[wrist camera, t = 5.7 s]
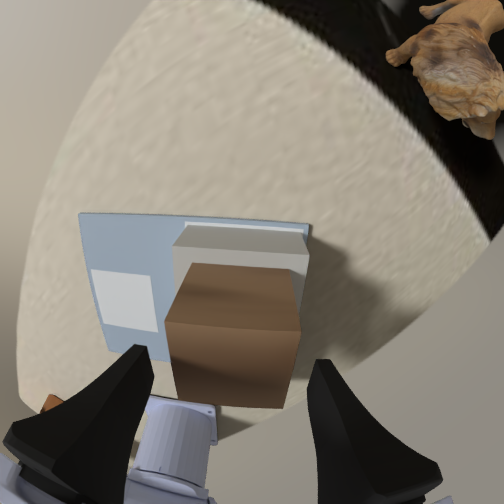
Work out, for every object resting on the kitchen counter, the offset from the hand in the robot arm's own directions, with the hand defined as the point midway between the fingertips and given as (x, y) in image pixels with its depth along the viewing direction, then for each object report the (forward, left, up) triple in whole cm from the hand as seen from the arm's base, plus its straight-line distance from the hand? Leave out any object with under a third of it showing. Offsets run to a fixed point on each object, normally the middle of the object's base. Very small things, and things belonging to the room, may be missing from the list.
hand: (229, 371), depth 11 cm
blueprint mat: (-2, +4, -9) cm, 10 cm away
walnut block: (0, 0, -5) cm, 5 cm away
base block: (0, 0, -8) cm, 8 cm away
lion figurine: (+18, -12, -9) cm, 23 cm away
